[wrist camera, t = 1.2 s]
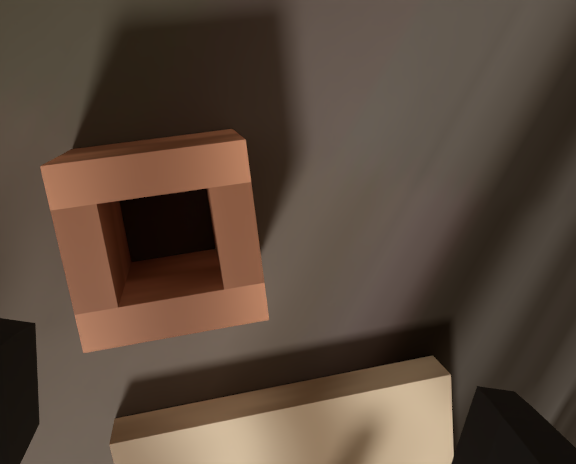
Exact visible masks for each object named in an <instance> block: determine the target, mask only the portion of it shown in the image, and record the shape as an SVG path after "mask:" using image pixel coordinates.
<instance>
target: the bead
mask: <svg viewBox="0 0 576 464" xmlns="http://www.w3.org/2000/svg"><path fill="white" fill-rule="evenodd" d="M40 168H41V172H42V176H43V181H44V185H45V189H46V194H47V198H48V202H49V206H50V211H51V215H52V219H53V224H54V228H55V232H56V237H57V241H58V245H59V249H60V254H61V258H62V262H63V267H64V271H65V275H66V280H67V284H68V288H69V292H70V297H71V301H72V305H73V310H74V314H75V318H76V323H77V327H78V331H79V335H80V340H81V344H82V348H83V353H87V352H92V351H98V350H103V349H109V348H115V347H120V346H126V345H131V344H137V343H142V342H148V341H153V340H159V339H165V338H170V337H176V336H181V335H187V334H192V333H198V332H204V331H209V330H215V329H220V328H226V327H231V326H237V325H242V324H248V323H254V322H259V321H265V320H269V315H268V307H267V299H266V292H265V284H264V276H263V269H262V261H261V253H260V246H259V238H258V230H257V222H256V215H255V207H254V199H253V192H252V184H251V176H250V169H249V161H248V153H247V145H246V139H244V138H243V137H242V136H241V135H239V134H238V133H237V132H236V131H234V130H233V129H226V130H219V131H211V132H203V133H195V134H187V135H179V136H171V137H163V138H155V139H148V140H140V141H132V142H124V143H116V144H108V145H100V146H92V147H84V148H76V149H71V150H69V151H67V152H66V153H64V154H62V155H60V156H58V157H56V158H54V159H53V160H51V161H49V162H47V163H45V164H43V165H41V166H40ZM206 188H207V195H208V202H209V208H210V215H211V221H212V228H213V234H214V241H215V247H216V249H212V250H205V251H199V252H193V253H186V254H180V255H174V256H167V257H161V258H155V259H148V260H142V261H136V262H131V257H130V252H129V247H128V242H127V237H126V232H125V227H124V222H123V217H122V211H121V206H120V201H121V200H128V199H135V198H142V197H149V196H156V195H163V194H170V193H177V192H184V191H192V190H199V189H206Z"/></svg>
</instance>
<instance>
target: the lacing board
mask: <svg viewBox="0 0 576 464" xmlns="http://www.w3.org/2000/svg"><path fill="white" fill-rule="evenodd" d="M109 445H110V449H111V453H112V458H113V462H114V464H451V463H452V460H453V457H454V450H453V421H452V392H451V374H450V373H449V372H448V371H447V370H446V369H445V368H444V367H443V366H442V365H441V364H440V363H439V361H438V360H437V359H436V358H435V357H434V356H428V357H423V358H418V359H413V360H408V361H403V362H398V363H393V364H388V365H383V366H377V367H372V368H367V369H362V370H357V371H352V372H347V373H342V374H337V375H332V376H327V377H322V378H317V379H312V380H307V381H302V382H297V383H292V384H287V385H282V386H277V387H272V388H267V389H262V390H256V391H251V392H246V393H241V394H236V395H231V396H226V397H221V398H216V399H211V400H206V401H201V402H196V403H191V404H186V405H181V406H176V407H171V408H166V409H161V410H156V411H151V412H146V413H141V414H135V415H130V416H125V417H120V418H115V420H114V425H113V430H112V435H111V439H110V444H109Z"/></svg>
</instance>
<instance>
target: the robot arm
mask: <svg viewBox="0 0 576 464" xmlns="http://www.w3.org/2000/svg"><path fill="white" fill-rule="evenodd" d="M38 425H39V403H38V378H37V354H36V329H35V323H30V322H23V321H16V320H9V319H2V318H0V464H20V463H21V461H22V459H23V457H24V455H25V453H26V451H27V448H28V446H29V444H30V442H31V440H32V438H33V436H34V434H35V432H36V429H37V427H38ZM451 464H576V448H575V447H574V446H573V445H572V444H571V443H570V442H569V441H568V440H567V439H566V438H565V437H564V436H562V435H561V434H560V433H559V432H558V431H557V430H556V429H555V428H554V427H553V426H552V425H551V424H550V423H549V422H548V421H547V420H546V419H545V418H543V417H542V416H541V415H540V414H539V413H538V412H537V411H536V410H535V409H534V408H533V407H532V406H530V405H529V404H528V403H527V402H526V401H525V400H524V399H522V398H521V397H520V396H519V395H518V394H517V393H515V392H513V391H506V390H499V389H492V388H485V387H478V386H477V389H476V392H475V395H474V398H473V401H472V403H471V406H470V409H469V412H468V415H467V418H466V421H465V424H464V427H463V430H462V433H461V436H460V439H459V442H458V445H457V448H456V451H455V454H454V457H453V460H452V463H451Z"/></svg>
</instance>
